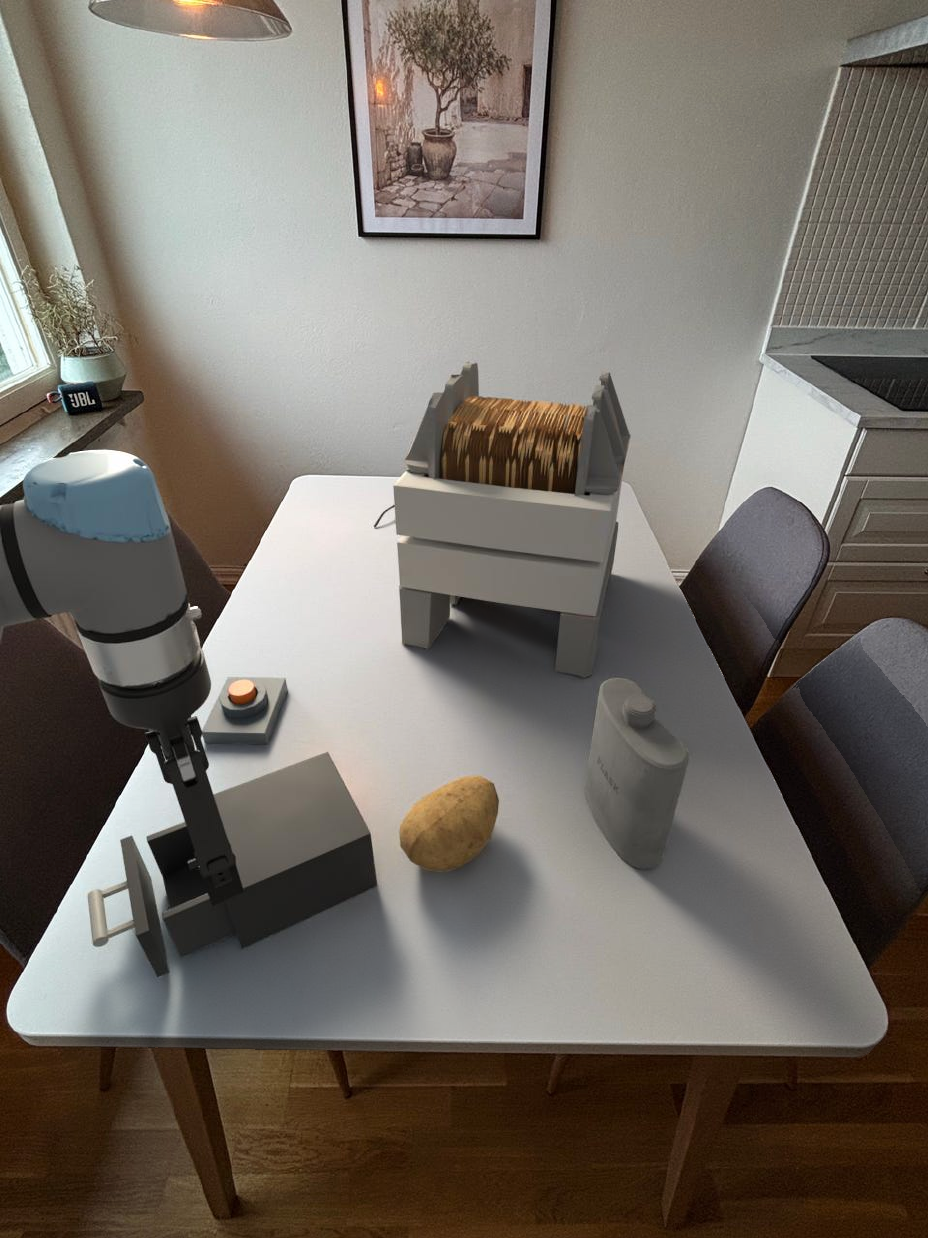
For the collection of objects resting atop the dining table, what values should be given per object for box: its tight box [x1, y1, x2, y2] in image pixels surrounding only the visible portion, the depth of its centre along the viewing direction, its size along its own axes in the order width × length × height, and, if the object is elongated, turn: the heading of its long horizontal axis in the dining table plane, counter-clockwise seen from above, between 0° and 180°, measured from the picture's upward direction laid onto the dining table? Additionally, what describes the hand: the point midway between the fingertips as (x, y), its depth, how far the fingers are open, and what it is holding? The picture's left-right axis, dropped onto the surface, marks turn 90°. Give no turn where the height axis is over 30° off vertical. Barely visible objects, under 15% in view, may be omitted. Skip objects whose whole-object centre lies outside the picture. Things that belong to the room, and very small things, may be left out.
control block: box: [201, 676, 288, 745], centre depth 101 cm, size 12×9×4 cm
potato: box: [398, 775, 500, 873], centre depth 81 cm, size 10×14×8 cm
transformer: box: [392, 361, 631, 679], centre depth 113 cm, size 34×33×41 cm
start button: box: [229, 680, 256, 704], centre depth 99 cm, size 4×4×2 cm
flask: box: [584, 677, 690, 870], centre depth 80 cm, size 15×6×20 cm, turn 17°
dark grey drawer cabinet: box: [213, 751, 378, 950], centre depth 77 cm, size 16×14×10 cm
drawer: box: [87, 821, 236, 978], centre depth 73 cm, size 19×12×8 cm, turn 119°
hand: (208, 838), depth 63 cm, fingers open, 13 cm apart
